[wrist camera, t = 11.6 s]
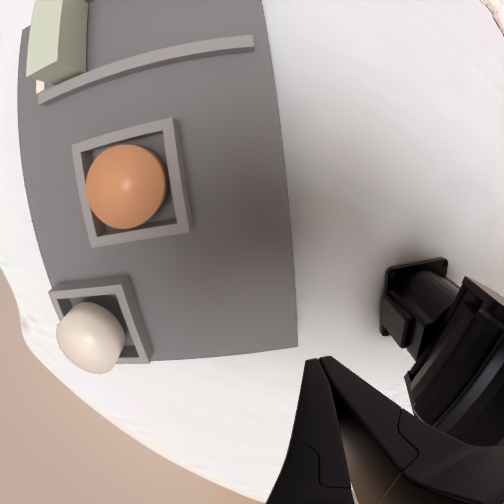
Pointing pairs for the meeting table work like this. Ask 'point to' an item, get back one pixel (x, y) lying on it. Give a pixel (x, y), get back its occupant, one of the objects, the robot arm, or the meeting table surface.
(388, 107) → the meeting table surface
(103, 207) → the terracotta button
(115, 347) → the offwhite button
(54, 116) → the control board
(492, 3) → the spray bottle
